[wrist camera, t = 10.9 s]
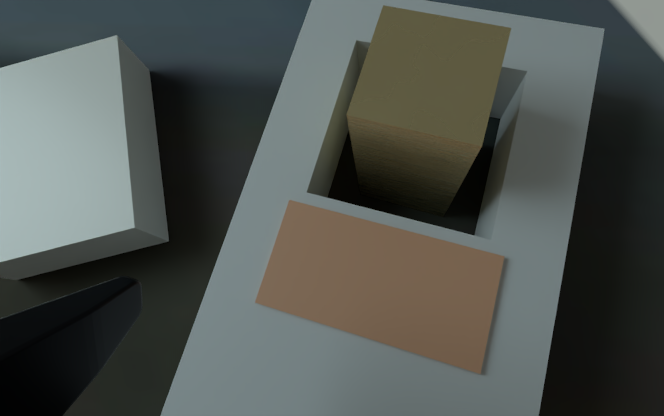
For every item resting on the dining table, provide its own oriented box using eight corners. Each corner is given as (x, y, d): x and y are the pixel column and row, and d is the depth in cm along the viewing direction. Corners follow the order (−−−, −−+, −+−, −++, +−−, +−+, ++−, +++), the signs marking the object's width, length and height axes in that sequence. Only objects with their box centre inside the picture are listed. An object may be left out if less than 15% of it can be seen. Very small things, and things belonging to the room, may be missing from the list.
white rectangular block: (169, 241, 21) (134, 227, 18) (17, 279, 21) (-41, 272, 18) (149, 70, 24) (117, 35, 21) (16, 107, 24) (-34, 77, 21)
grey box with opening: (476, 540, 16) (508, 612, 12) (195, 430, 18) (141, 460, 14) (563, 84, 21) (607, 25, 16) (329, 40, 23) (317, -21, 19)
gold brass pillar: (443, 216, 20) (481, 146, 12) (360, 194, 20) (346, 114, 13) (463, 139, 20) (511, 28, 13) (383, 121, 21) (383, 5, 14)
